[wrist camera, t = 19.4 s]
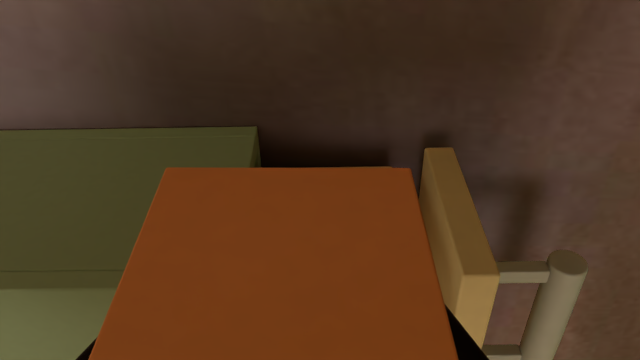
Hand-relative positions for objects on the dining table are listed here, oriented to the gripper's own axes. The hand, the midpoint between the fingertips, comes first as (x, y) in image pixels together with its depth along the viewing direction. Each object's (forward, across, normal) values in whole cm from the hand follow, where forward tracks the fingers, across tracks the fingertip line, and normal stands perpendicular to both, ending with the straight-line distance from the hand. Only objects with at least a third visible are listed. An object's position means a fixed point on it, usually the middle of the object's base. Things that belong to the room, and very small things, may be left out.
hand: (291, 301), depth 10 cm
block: (+1, 0, 0) cm, 1 cm away
